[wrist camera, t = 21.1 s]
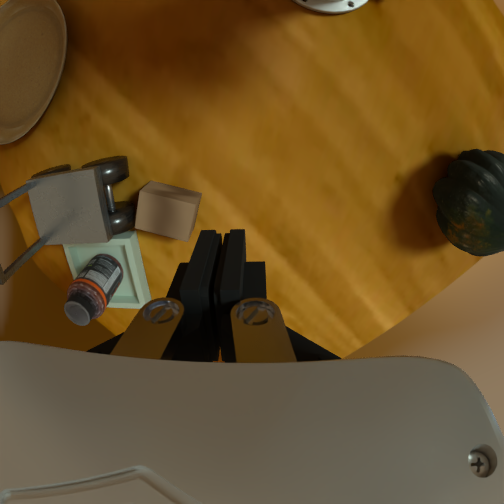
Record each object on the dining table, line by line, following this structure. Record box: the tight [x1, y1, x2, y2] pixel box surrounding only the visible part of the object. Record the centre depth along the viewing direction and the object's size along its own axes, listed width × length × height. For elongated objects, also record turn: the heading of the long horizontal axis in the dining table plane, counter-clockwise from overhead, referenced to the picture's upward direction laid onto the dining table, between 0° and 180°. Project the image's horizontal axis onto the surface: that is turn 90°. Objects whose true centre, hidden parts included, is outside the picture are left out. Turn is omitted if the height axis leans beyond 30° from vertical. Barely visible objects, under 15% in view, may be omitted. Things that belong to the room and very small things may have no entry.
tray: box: [63, 231, 151, 309], centre depth 43 cm, size 12×12×2 cm
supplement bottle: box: [64, 254, 124, 325], centre depth 39 cm, size 6×6×11 cm
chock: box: [135, 181, 202, 242], centre depth 38 cm, size 7×5×4 cm
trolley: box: [0, 156, 136, 285], centre depth 31 cm, size 15×9×18 cm, turn 92°
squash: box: [433, 149, 504, 256], centre depth 32 cm, size 14×15×15 cm
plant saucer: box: [0, 0, 68, 144], centre depth 27 cm, size 24×24×3 cm
